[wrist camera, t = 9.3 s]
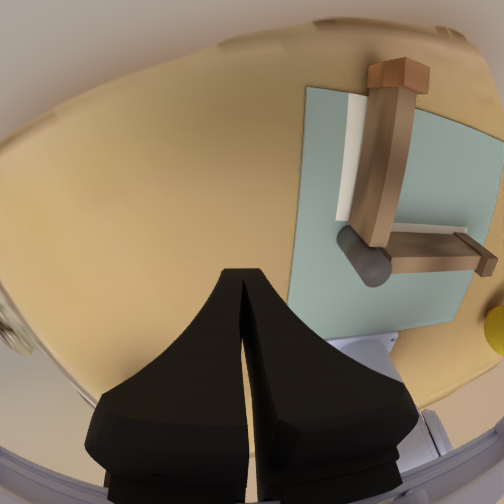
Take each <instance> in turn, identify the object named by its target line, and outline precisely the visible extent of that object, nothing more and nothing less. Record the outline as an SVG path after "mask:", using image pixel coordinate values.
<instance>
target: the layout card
mask: <svg viewBox="0 0 504 504" xmlns="http://www.w3.org/2000/svg"><path fill="white" fill-rule="evenodd" d="M367 106H368V97H367V96H362V95H357V94H352V93H346V92H340V91H334V90H327V89H320V88H312V87H306V95H305V114H304V131H303V146H302V159H301V172H300V184H299V196H298V207H297V217H296V227H295V237H294V246H293V255H292V264H291V273H290V281H289V289H288V297H287V305H288V306H289V308H290V309H291V310H292V311H293V312H294V313H295V314H296V315H297V316H298V317H299V318H300V319H301V320H302V321H303V322H304V323H305V324H306V325H307V326H308V327H309V328H310V329H312V330H313V331H314V332H315V333H316V334H317V335H319V336H320V337H321V338H323V339H330V338H341V337H351V336H360V335H369V334H377V333H385V332H392V331H399V330H406V329H412V328H418V327H424V326H430V325H435V324H440V323H446V322H451V321H453V319H454V317H455V315H456V313H457V311H458V308H459V306H460V304H461V302H462V300H463V298H464V295H465V293H466V291H467V288H468V286H469V284H470V281H471V279H472V276H473V274H474V270H462V271H445V272H426V273H404V274H391V275H390V277H389V279H388V280H387V281H386V282H385V283H384V284H382V285H381V286H379V287H374V288H371V287H368V286H366V285H365V284H364V283H363V281H362V280H361V278H360V277H359V275H358V274H357V272H356V271H355V269H354V268H353V266H352V265H351V263H350V262H349V260H348V259H347V257H346V256H345V255H344V253H343V252H342V250H341V249H340V247H339V246H338V244H337V241H336V238H337V234H338V232H339V231H340V230H341V229H342V228H343V227H345V226H347V225H350V224H349V223H348V220H349V215H350V210H351V205H352V200H353V195H354V190H355V185H356V179H357V174H358V168H359V162H360V156H361V150H362V143H363V137H364V129H365V122H366V114H367ZM503 165H504V142H502V141H500V140H498V139H495V138H493V137H491V136H489V135H487V134H484V133H482V132H480V131H477V130H475V129H472V128H470V127H467V126H465V125H462V124H460V123H457V122H454V121H452V120H449V119H446V118H443V117H440V116H437V115H434V114H431V113H428V112H425V111H422V110H418V109H415V113H414V121H413V128H412V135H411V141H410V148H409V153H408V159H407V164H406V169H405V174H404V179H403V184H402V189H401V193H400V197H399V202H398V206H397V210H396V214H395V218H394V222H393V225H392V229H391V232H417V233H439V234H454V232H460V233H466V234H467V235H469V236H470V237H471V238H473V239H474V240H475V241H477V242H478V243H479V244H480V245H482V246H484V243H485V240H486V237H487V233H488V230H489V227H490V223H491V220H492V216H493V212H494V208H495V204H496V200H497V196H498V191H499V187H500V182H501V177H502V171H503Z"/></svg>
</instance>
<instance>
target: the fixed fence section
mask: <svg viewBox="0 0 504 504" xmlns="http://www.w3.org/2000/svg"><path fill="white" fill-rule="evenodd" d="M336 241H337V244H338V246H339V247H340V249H341V250H342V252H343V253H344V255H345V256H346V257H347V259H348V260H349V262H350V263H351V265H352V266H353V268H354V269H355V271H356V272H357V274H358V275H359V277H360V278H361V280H362V281H363V283H364V284H365V285H366V286H368V287H371V288H374V287H379V286H381V285H382V284H384V283H385V282H386V281H387V280H388V279H389V277H390V275H391V274H404V273H426V272H445V271H462V270H474V271H475V272H476V273H477V274H478V275H479V276H480V277H487V276H492V273H493V271H494V268H495V266H496V263H497V261H498V258H497V257H496V256H494V255H493V254H492V253H491V252H489V251H488V250H487V249H486V248H484V247H483V246H482V245H480V244H479V243H478V242H477V241H475V240H474V239H473V238H471V237H470V236H469V235H467V234H466V233H460V232H454V234H439V233H417V232H391V233H390V236H389V240H388V243H387V247H386V248H384V247H369V246H368V244H367V243H366V242H365V241H364V240H363V239H362V238H361V237H360V235H359V234H358V233H357V232H356V231H355V230H354V229H353V228H352V227H351V226H350V225H347V226H345V227H343V228H342V229H341V230H340V231H339V232H338V234H337V238H336Z"/></svg>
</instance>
